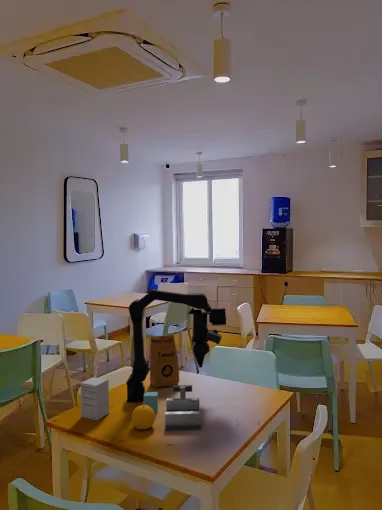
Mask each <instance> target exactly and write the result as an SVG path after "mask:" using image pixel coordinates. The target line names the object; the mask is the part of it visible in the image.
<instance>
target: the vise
mask: <svg viewBox="0 0 382 510" xmlns="http://www.w3.org/2000/svg"><path fill="white" fill-rule="evenodd" d="M201 412H202V411H201V410H200V408H199V409H191V410H167V409H166V410H165V412H164V416H165V417H164V430H165V431H186V430H189V431H192V430H194V431H195V430H199V431H200V430H202V413H201Z"/></svg>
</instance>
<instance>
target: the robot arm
mask: <svg viewBox="0 0 382 510" xmlns="http://www.w3.org/2000/svg"><path fill="white" fill-rule="evenodd" d="M155 301H161V302H168V303H175V304H183V305H186V306H189V307H191V309H190V310H189V311H188V313H187V314H188V315H192V335H191V345H192V353H193V354H194V358H195V360H196V362H197V365H198V368H203V366H204V365H203V364H204V361H205V356H206V355H207V354H208V353H210V345H209V342H212V343H215V344H216V345H220V344H221V340H222V335H221V334H220V333H219V332H218V329H215V328H214V329H212V330H209V328H208V323H210V324H211V325H212V326H227V315H226V308H225V307H220V308H219V307H218V308H215V307H214V308H212V306H211V305H210V303H209V301H208V298H207V296H206V294H205V293H203V292H195V293H194V292H192V293H182V292H181V293H180V292H176V291H175V292H172V291H167V290H159V289H156V288H153V289H151V290H150V291H149V292H148V293H147V294H145V295H144V296H142V297H141V298H140V299H138V298H137V299H135V300H133V301H132V302H131V303H130V304H129V305H128V312H129V317H130V321H131V323H132V333H133V335H132V336H133V337H132V338H133V357H134V359H133V365H132V369H131V371H132V372H131V374H130V375H129V376H128V378H127V380H126V382H125V383H126V403H142V402H143V403H144V393H145V392H146V387H145V385H144V381H145V380H146V378H147V376H148V375H149V374H150V360H146V358H145V357H146V356H145V343H144V339H145V338H144V318H145V311H146V308H147V307H148V306H149V305H150V304H152V303H153V302H155ZM202 310H203V311H202Z"/></svg>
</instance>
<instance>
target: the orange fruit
mask: <svg viewBox="0 0 382 510" xmlns="http://www.w3.org/2000/svg"><path fill="white" fill-rule="evenodd" d="M155 413H156V412H154V411H153V409H152V408H151V407H150V406H148V405H144V404H141V405H138V406H136V407H135V408H134V410H133V411H132V412H131V416H130V417H131V422H132V425H133V426H134V427H135V428H136V429H138V430H147V429H150V428H151V427H152V426H154V423H155V422H156V421H155V420H156V414H155Z"/></svg>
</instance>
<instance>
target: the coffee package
mask: <svg viewBox="0 0 382 510" xmlns="http://www.w3.org/2000/svg"><path fill="white" fill-rule="evenodd" d="M177 351H178V350H177V347H176V342H175V334H168V335H167V334H166V335H155V336H150V347H149V359H150V360H149V369H150V370H149V382H150V384H151V385H152V387H154V388H159V387H161V388H162V386H163V387H171V386H172V387H173V385H179V383H180V366H179V357H178V353H177Z"/></svg>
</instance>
